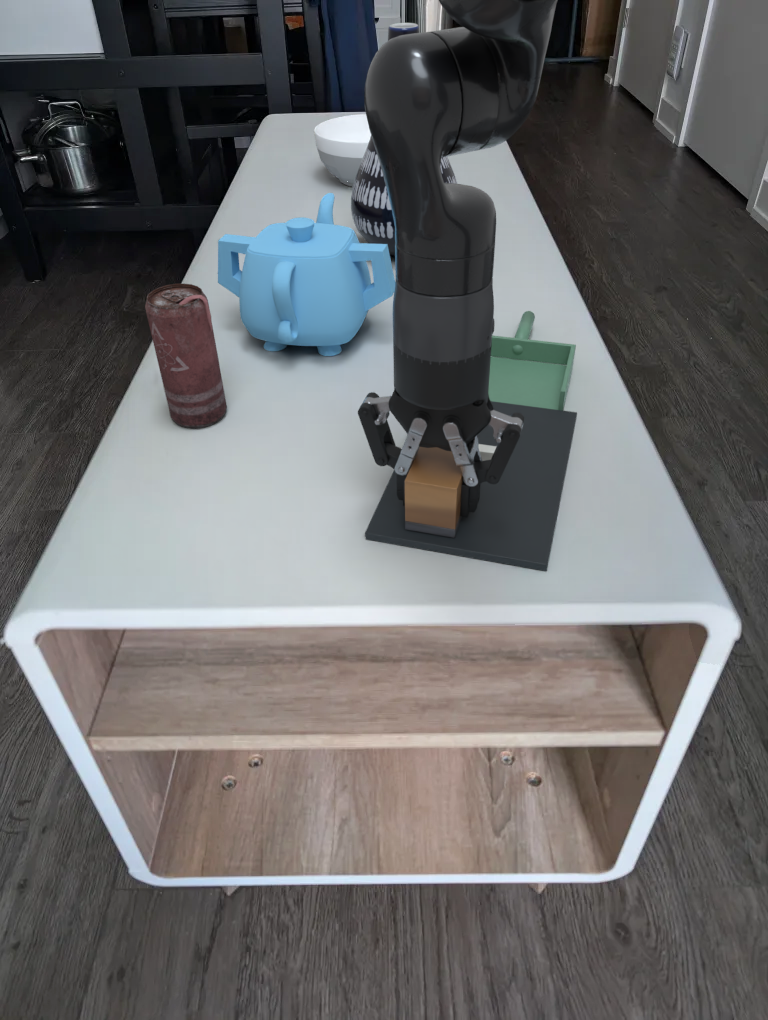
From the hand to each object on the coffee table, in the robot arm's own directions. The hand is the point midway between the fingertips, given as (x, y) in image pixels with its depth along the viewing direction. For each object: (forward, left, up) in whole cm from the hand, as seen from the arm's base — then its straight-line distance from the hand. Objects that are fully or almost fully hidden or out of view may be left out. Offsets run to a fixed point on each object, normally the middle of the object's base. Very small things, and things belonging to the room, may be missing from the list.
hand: (438, 505), depth 71 cm
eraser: (0, 0, -1) cm, 1 cm away
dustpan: (+17, -24, -2) cm, 30 cm away
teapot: (+39, -10, -2) cm, 40 cm away
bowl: (+85, -48, -2) cm, 98 cm away
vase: (+53, -34, -2) cm, 63 cm away
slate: (+3, -8, -2) cm, 8 cm away
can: (+29, +10, -2) cm, 31 cm away
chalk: (+4, -9, -1) cm, 10 cm away
